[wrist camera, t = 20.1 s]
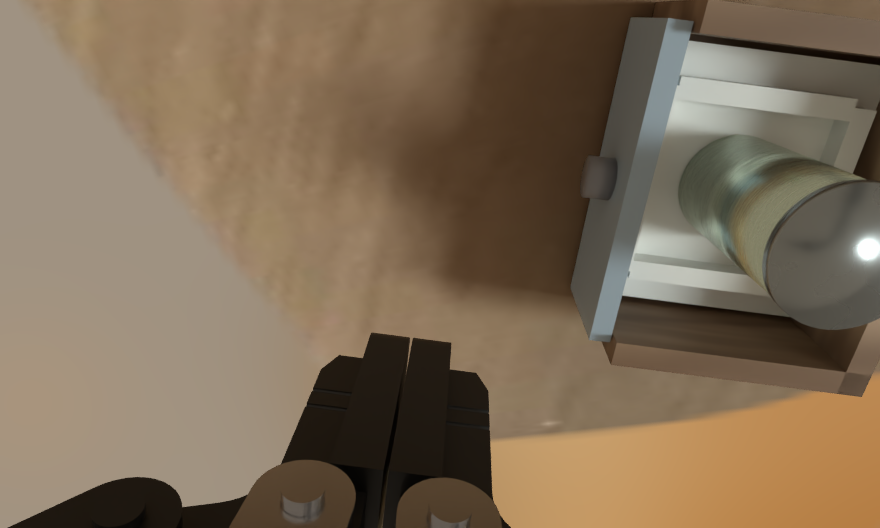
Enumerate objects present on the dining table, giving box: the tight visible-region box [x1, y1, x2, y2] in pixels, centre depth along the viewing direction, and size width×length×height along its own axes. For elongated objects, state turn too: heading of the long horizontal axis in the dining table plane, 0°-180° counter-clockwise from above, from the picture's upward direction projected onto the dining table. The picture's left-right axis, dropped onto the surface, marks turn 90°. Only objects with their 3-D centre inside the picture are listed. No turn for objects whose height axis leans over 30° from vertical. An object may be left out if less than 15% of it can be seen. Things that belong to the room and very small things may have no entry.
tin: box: [678, 135, 880, 330], centre depth 25 cm, size 5×5×10 cm
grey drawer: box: [570, 17, 880, 342], centre depth 29 cm, size 14×13×6 cm
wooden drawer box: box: [602, 0, 880, 397], centre depth 29 cm, size 16×12×7 cm
